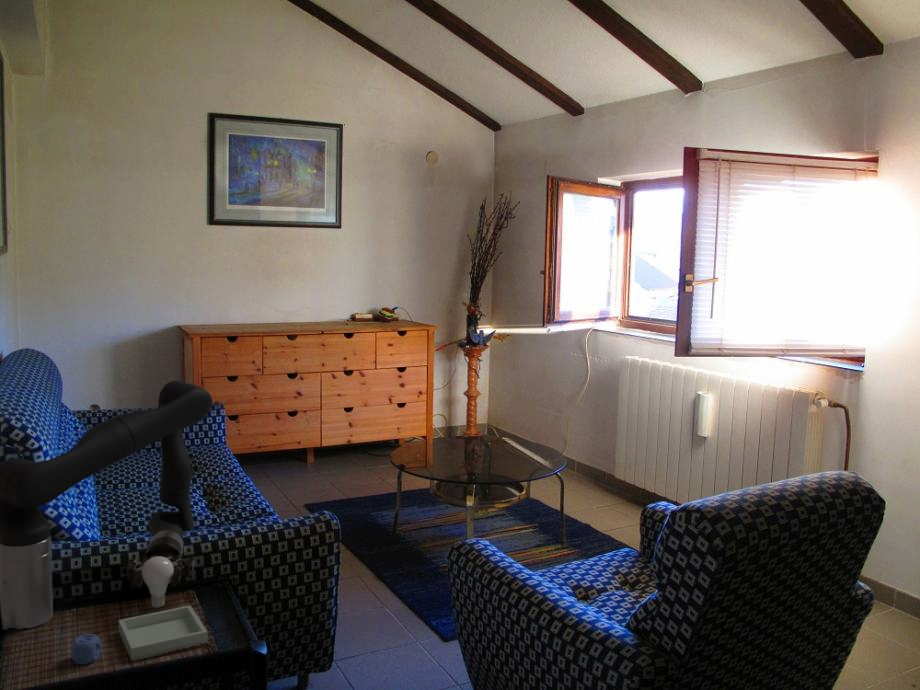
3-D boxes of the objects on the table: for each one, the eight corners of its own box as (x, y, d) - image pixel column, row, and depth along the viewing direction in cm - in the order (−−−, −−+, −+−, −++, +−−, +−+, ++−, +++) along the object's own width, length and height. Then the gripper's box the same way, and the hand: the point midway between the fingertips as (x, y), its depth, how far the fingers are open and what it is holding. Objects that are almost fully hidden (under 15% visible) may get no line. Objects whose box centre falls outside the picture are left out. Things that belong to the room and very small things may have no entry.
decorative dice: (101, 653, 156) (101, 633, 155) (93, 664, 152) (93, 644, 152) (80, 653, 156) (79, 633, 155) (71, 664, 152) (70, 644, 151)
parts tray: (131, 661, 153) (131, 648, 153) (118, 631, 164) (118, 620, 164) (207, 643, 161) (207, 631, 161) (190, 616, 172) (190, 605, 171)
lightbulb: (163, 615, 170) (163, 565, 169) (135, 611, 171) (135, 561, 170) (179, 602, 176) (179, 553, 175) (153, 598, 178) (152, 550, 176)
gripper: (130, 537, 184) (119, 567, 168) (198, 534, 188) (193, 563, 172) (131, 569, 185) (119, 602, 169) (198, 565, 189) (193, 597, 173)
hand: (156, 582), depth 171 cm, fingers closed on lightbulb, 6 cm apart
